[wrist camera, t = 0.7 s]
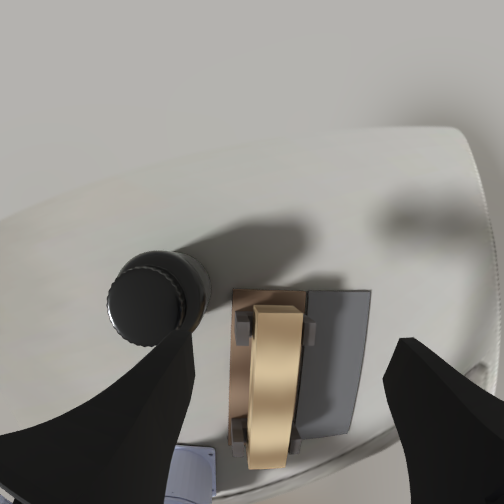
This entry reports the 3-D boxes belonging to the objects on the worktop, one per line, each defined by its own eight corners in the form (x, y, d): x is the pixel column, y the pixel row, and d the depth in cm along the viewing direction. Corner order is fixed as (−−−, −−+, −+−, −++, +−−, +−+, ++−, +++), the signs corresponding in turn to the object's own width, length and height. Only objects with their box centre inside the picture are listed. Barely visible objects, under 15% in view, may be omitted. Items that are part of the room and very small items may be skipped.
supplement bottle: (219, 262, 28) (216, 268, 16) (202, 329, 28) (188, 378, 16) (152, 243, 27) (104, 236, 15) (136, 309, 27) (85, 343, 15)
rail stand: (288, 438, 28) (299, 466, 23) (228, 440, 28) (229, 470, 22) (303, 290, 29) (321, 298, 23) (232, 288, 28) (235, 297, 22)
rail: (278, 448, 25) (285, 467, 22) (245, 449, 25) (248, 469, 21) (292, 305, 25) (303, 313, 22) (253, 304, 25) (258, 312, 22)
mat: (346, 431, 29) (347, 433, 29) (292, 438, 28) (293, 440, 28) (368, 291, 29) (370, 291, 29) (308, 290, 29) (309, 291, 28)
